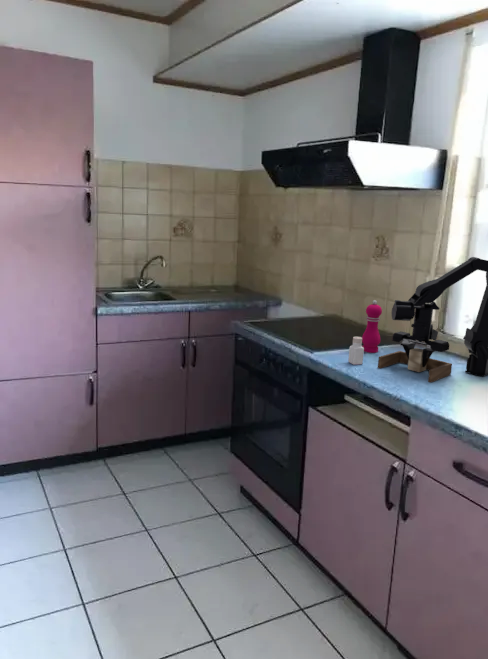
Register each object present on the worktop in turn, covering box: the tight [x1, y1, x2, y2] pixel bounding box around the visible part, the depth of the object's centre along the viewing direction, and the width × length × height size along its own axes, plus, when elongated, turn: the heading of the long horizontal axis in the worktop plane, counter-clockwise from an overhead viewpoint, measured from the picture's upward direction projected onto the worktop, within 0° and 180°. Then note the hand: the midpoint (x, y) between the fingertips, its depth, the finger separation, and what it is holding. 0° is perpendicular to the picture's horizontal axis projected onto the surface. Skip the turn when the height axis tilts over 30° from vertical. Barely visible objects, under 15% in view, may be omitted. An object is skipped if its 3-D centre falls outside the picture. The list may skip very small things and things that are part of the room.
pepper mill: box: [361, 299, 383, 354], centre depth 215 cm, size 7×7×20 cm
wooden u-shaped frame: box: [377, 350, 453, 384], centre depth 192 cm, size 20×14×4 cm
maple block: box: [407, 347, 427, 373], centre depth 193 cm, size 4×4×7 cm
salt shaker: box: [348, 336, 365, 366], centre depth 197 cm, size 4×4×10 cm
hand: (417, 365), depth 193 cm, fingers closed on maple block, 4 cm apart
